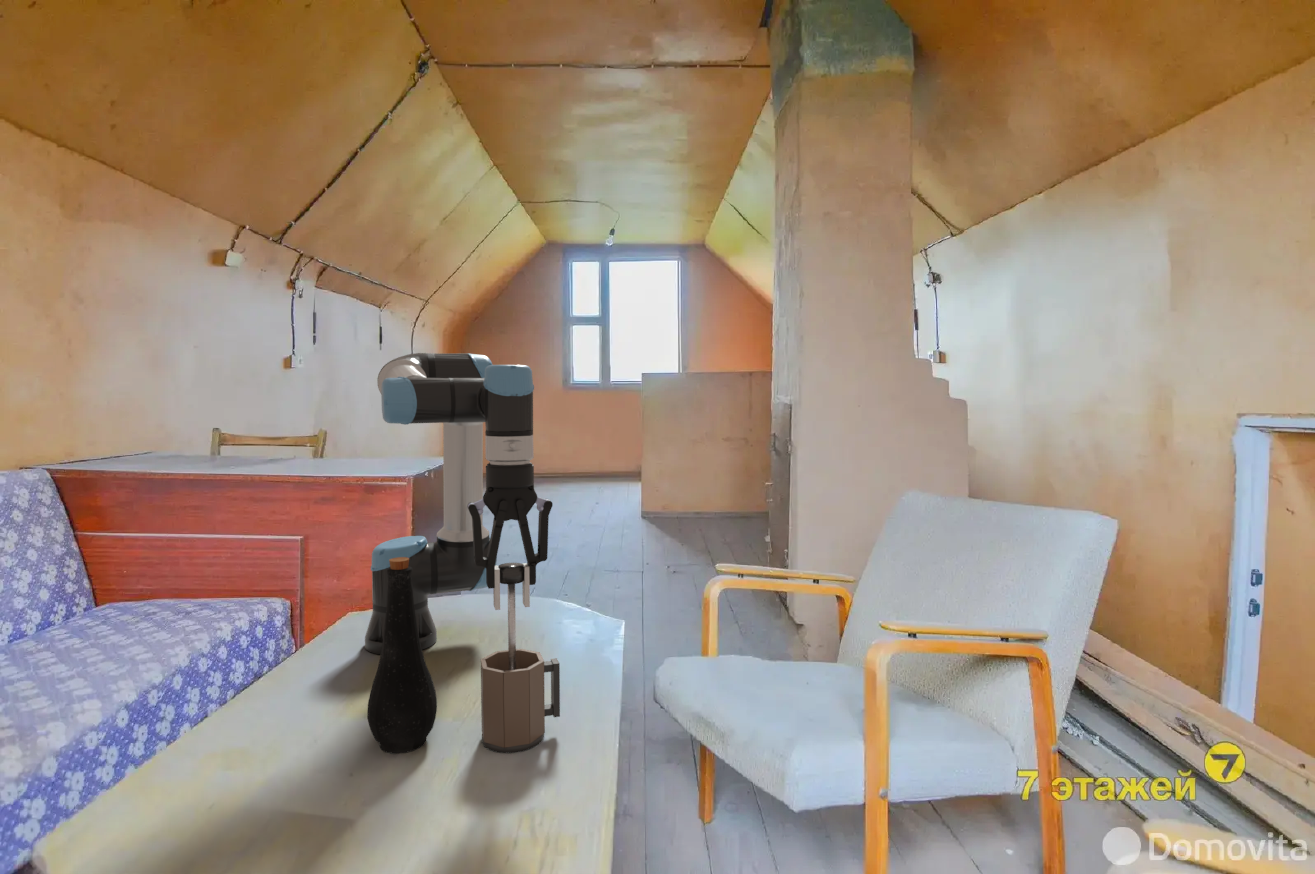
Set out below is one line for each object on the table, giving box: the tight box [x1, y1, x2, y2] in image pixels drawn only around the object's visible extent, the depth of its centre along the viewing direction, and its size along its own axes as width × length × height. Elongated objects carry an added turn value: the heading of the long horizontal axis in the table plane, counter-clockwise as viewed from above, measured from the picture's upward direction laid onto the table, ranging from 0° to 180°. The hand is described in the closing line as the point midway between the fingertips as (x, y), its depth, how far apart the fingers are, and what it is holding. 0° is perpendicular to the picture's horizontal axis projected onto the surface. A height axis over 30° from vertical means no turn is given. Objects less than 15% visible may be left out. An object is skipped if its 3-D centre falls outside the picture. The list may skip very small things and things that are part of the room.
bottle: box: [366, 557, 438, 755], centre depth 116 cm, size 11×11×30 cm
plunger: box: [498, 562, 524, 670], centre depth 117 cm, size 7×7×21 cm
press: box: [480, 648, 561, 754], centre depth 118 cm, size 10×12×13 cm
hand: (511, 605), depth 117 cm, fingers closed on plunger, 4 cm apart
